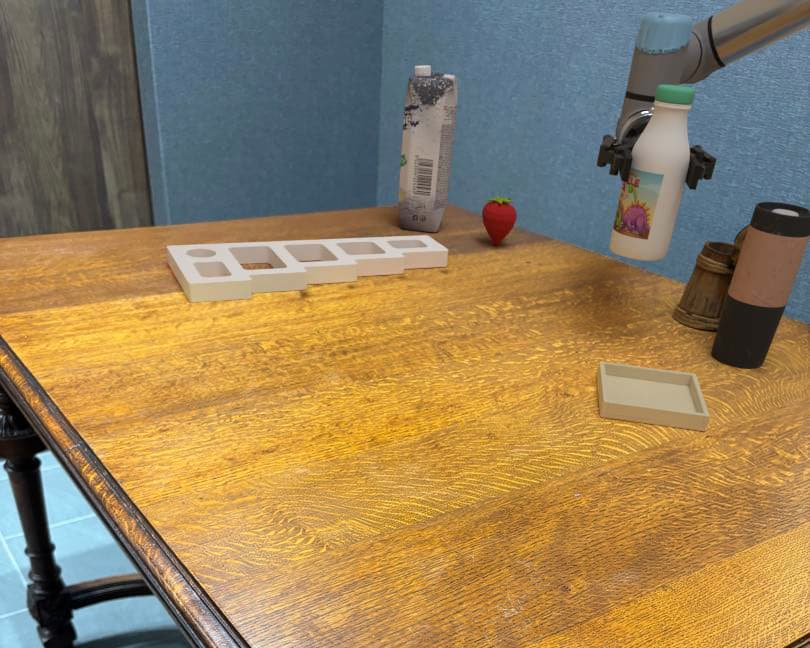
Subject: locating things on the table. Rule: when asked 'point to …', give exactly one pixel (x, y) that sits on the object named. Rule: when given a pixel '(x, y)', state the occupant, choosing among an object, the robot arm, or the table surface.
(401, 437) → the table surface
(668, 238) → the milk bottle
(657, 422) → the cream tray
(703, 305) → the wooden mug
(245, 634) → the table surface
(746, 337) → the travel mug
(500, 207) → the strawberry
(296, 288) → the holder
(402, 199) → the juice carton
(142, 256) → the table surface
